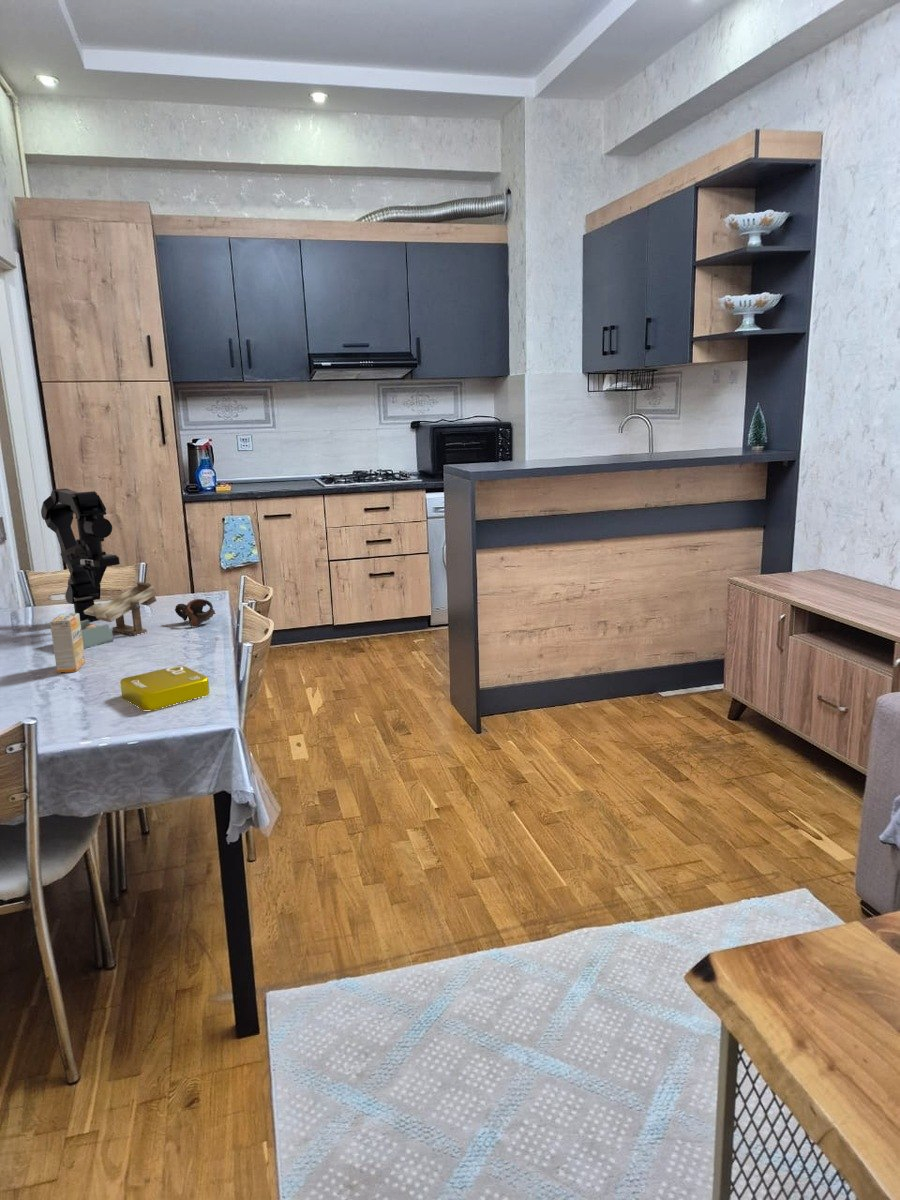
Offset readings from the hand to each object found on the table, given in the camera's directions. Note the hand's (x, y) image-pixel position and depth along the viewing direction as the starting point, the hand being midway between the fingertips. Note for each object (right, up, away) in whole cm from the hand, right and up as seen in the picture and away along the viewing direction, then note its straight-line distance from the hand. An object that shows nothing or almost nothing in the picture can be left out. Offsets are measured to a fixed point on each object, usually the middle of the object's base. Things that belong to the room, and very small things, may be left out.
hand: (96, 587), depth 235 cm
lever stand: (+11, -13, -4) cm, 18 cm away
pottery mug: (+28, -11, +4) cm, 30 cm away
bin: (+3, -16, -15) cm, 22 cm away
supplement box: (+10, -21, -37) cm, 44 cm away
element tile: (+42, -25, -59) cm, 77 cm away
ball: (+5, -13, -13) cm, 19 cm away
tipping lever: (+9, -7, -2) cm, 11 cm away
